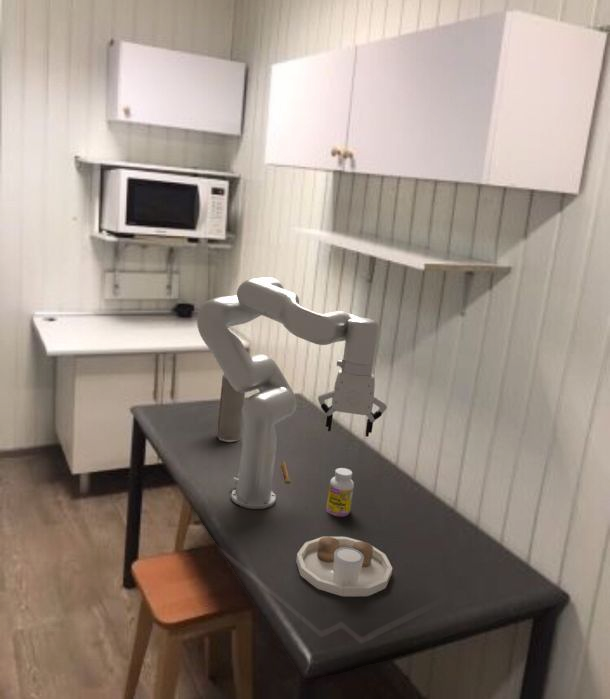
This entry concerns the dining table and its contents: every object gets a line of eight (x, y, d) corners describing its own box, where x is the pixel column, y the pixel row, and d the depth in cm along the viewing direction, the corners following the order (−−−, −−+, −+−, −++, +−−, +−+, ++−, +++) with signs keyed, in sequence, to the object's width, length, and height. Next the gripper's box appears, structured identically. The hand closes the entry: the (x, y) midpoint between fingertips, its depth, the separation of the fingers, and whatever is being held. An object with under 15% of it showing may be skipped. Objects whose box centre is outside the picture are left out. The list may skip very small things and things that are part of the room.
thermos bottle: (214, 440, 232) (221, 360, 225) (220, 432, 240) (227, 355, 233) (237, 444, 231) (245, 364, 224) (242, 435, 239) (250, 358, 232)
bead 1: (312, 554, 168) (314, 540, 167) (327, 549, 171) (329, 534, 170) (326, 564, 164) (328, 549, 163) (341, 558, 167) (343, 544, 166)
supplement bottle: (322, 515, 190) (328, 472, 187) (330, 505, 196) (335, 464, 193) (345, 521, 188) (351, 478, 185) (352, 511, 194) (358, 470, 191)
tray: (278, 562, 164) (279, 551, 164) (344, 538, 179) (345, 528, 178) (341, 611, 149) (343, 599, 148) (408, 581, 163) (410, 570, 162)
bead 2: (346, 559, 167) (348, 544, 166) (360, 554, 171) (362, 539, 170) (360, 569, 164) (362, 554, 163) (374, 563, 167) (377, 549, 166)
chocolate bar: (287, 467, 219) (287, 460, 219) (291, 483, 208) (292, 477, 207) (279, 466, 219) (279, 460, 218) (283, 483, 207) (283, 476, 207)
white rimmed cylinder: (358, 574, 162) (362, 548, 160) (361, 591, 155) (366, 564, 153) (329, 572, 161) (332, 545, 159) (331, 589, 154) (335, 562, 153)
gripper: (321, 367, 167) (313, 432, 171) (392, 376, 166) (382, 442, 171) (323, 359, 174) (315, 422, 179) (391, 368, 174) (381, 431, 178)
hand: (348, 432), depth 175 cm, fingers open, 9 cm apart
